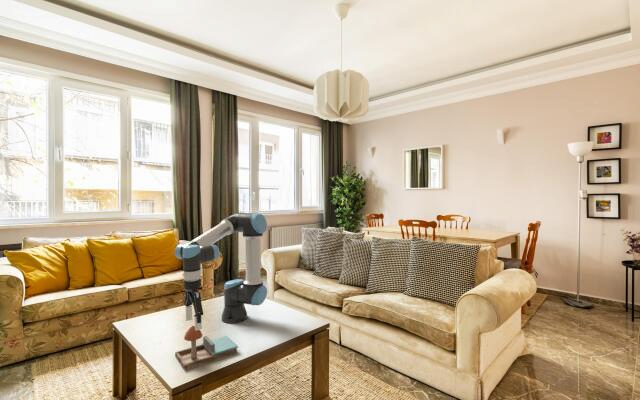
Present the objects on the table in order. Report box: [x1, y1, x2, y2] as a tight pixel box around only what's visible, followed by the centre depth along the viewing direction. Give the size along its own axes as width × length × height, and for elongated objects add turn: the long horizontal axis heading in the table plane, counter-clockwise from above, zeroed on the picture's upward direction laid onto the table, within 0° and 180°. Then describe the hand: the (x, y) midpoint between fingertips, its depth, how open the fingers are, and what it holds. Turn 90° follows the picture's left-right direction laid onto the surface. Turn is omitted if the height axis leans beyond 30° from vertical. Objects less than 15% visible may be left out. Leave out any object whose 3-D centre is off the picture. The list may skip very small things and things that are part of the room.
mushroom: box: [183, 325, 203, 359], centre depth 150 cm, size 8×8×15 cm
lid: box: [202, 335, 239, 355], centre depth 158 cm, size 14×12×4 cm
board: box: [174, 343, 238, 371], centre depth 154 cm, size 15×24×2 cm, turn 128°
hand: (193, 324), depth 150 cm, fingers open, 13 cm apart
